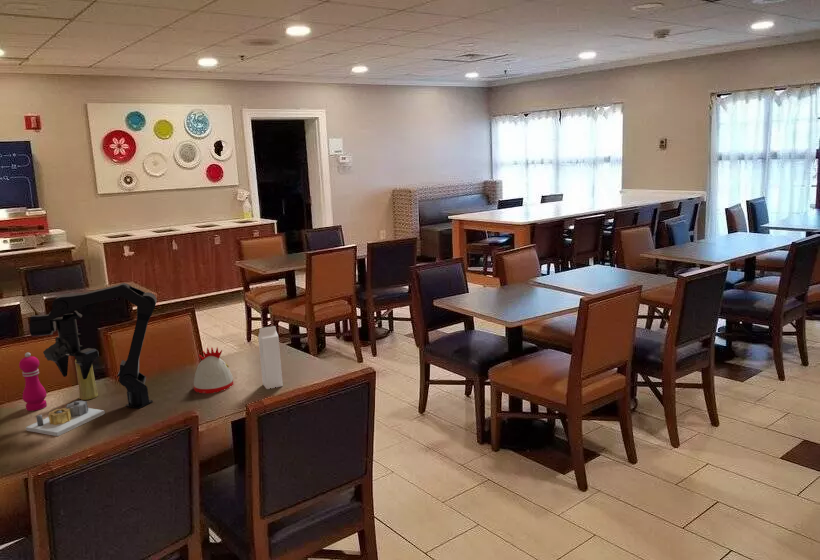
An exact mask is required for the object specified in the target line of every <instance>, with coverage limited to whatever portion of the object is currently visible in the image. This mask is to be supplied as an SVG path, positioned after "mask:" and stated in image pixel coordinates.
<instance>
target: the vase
mask: <svg viewBox="0 0 820 560" xmlns="http://www.w3.org/2000/svg"><path fill="white" fill-rule="evenodd" d="M76 362H77V360H76V359H75V360H74V364H75V369H76V370H75V371H76V377H77V385H78V392H79V395H78V397H79V400H80V399H81V400H80V401H88V400H93V399H95V398H97V397H98V396H99V392H98V389H97V384H96V378H95V373H94V368H93V367H94V365H92V366H91V368H90V371H89V374H88V376H87V379H83V377H82V373H81V369H80V365H78V364H77V363H76Z"/></svg>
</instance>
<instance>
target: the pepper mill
mask: <svg viewBox="0 0 820 560" xmlns="http://www.w3.org/2000/svg"><path fill="white" fill-rule="evenodd" d="M31 354H32V353H30V352H26V353H24V357H22V358H21V360H20V361H19V364H18V366H19V367H18V368H19V369H20V370H21V374H22V377H24V380H25V385H24V388H23V392H22V401H23V402H24V403H26V404H25V409H26V411H28V412H34V411H39V410H43V409H44V408H46V407H47V400H46V398H47V395H48V393H47V391H46V389H45V387H44V386H43V384H42V383H41V381H40V380H39V374H40V370H39V366H40V360H39V359H38V357H36V356H34V355H33V356H31Z"/></svg>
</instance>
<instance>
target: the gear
mask: <svg viewBox="0 0 820 560" xmlns="http://www.w3.org/2000/svg"><path fill="white" fill-rule="evenodd" d="M57 411H62V413H58V414H56V412H57ZM47 417H49V422H50V424H54V425H57V424H64V423H65V422H67V421H70V420H71V413H70V409H66V407H62V408H56V409H55V408H54V410H52V411H49V412H48V415H47Z"/></svg>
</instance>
